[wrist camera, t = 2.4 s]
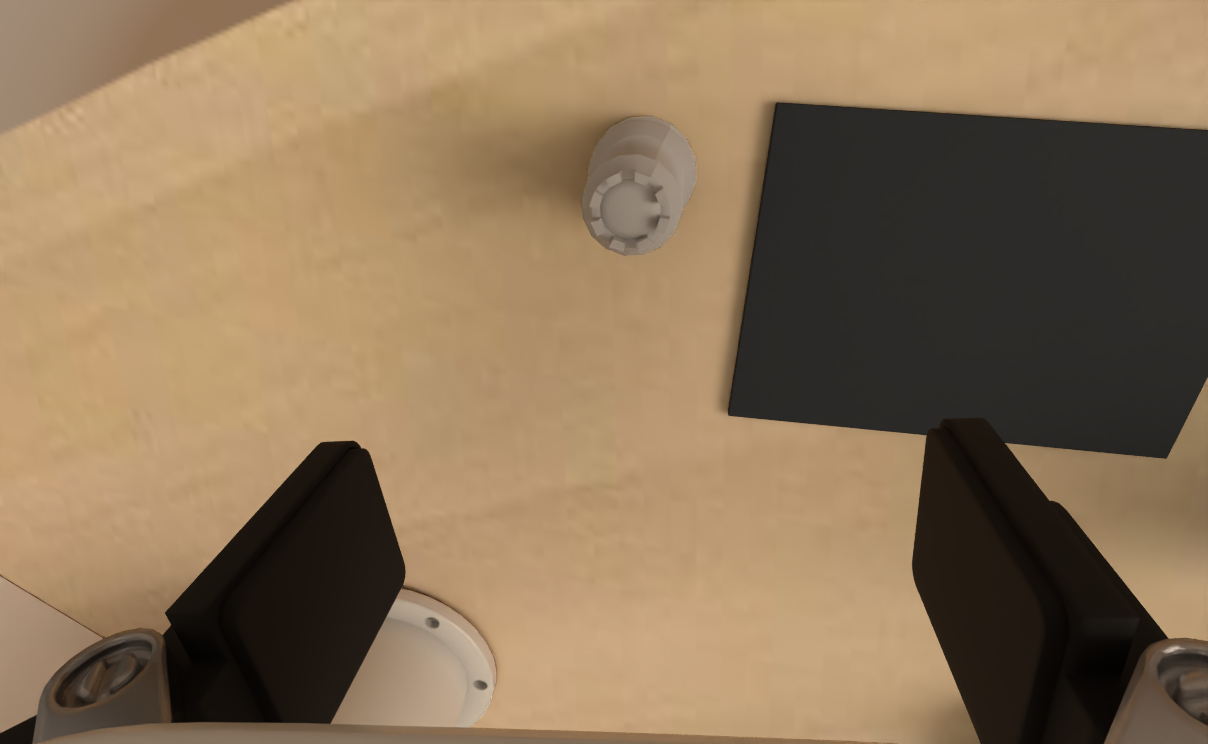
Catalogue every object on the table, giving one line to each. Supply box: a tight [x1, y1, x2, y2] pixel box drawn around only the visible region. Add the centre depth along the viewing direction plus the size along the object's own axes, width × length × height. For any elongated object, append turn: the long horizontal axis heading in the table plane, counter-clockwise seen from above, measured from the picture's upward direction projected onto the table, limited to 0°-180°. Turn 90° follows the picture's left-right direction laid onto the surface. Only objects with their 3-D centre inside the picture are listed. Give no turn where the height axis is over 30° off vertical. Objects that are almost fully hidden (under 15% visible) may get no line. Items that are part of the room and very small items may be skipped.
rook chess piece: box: [582, 116, 696, 255], centre depth 24 cm, size 4×4×8 cm
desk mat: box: [728, 102, 1208, 459], centre depth 28 cm, size 20×14×1 cm
